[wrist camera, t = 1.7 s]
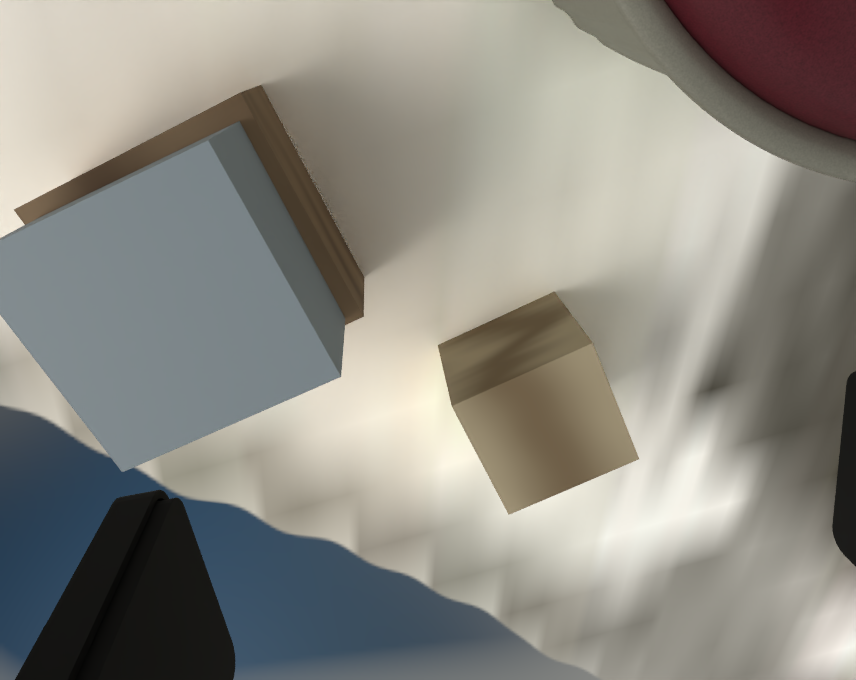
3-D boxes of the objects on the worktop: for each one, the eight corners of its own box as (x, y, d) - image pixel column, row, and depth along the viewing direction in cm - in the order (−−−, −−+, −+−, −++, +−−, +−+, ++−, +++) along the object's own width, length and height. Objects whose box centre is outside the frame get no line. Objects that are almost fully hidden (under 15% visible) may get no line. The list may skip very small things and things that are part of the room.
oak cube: (553, 291, 32) (592, 342, 26) (595, 392, 34) (639, 459, 29) (437, 344, 32) (452, 406, 27) (486, 440, 35) (508, 514, 29)
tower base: (261, 84, 27) (240, 92, 23) (364, 276, 31) (363, 316, 26) (71, 182, 28) (13, 209, 24) (191, 358, 32) (162, 411, 27)
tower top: (239, 120, 23) (207, 140, 18) (345, 318, 26) (340, 376, 22) (36, 218, 24) (-42, 260, 19) (163, 399, 27) (122, 472, 22)
